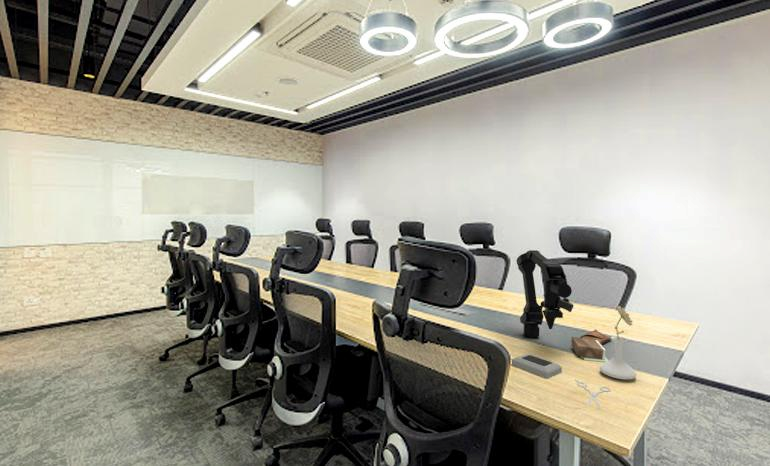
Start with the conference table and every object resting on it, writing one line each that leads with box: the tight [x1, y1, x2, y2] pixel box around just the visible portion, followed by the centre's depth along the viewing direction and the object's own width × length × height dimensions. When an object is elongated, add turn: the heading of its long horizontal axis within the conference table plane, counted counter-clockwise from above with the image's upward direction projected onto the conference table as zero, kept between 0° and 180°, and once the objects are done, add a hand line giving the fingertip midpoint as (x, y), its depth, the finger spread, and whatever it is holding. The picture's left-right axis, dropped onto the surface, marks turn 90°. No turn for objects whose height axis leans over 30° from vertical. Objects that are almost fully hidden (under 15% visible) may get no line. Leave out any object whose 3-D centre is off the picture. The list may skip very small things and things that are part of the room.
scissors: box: [574, 379, 612, 410], centre depth 119 cm, size 11×1×20 cm
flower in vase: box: [598, 305, 637, 380], centre depth 134 cm, size 13×11×25 cm
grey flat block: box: [510, 353, 563, 380], centre depth 139 cm, size 10×4×15 cm
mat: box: [579, 356, 609, 363], centre depth 155 cm, size 10×16×1 cm, turn 164°
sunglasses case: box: [579, 329, 612, 346], centre depth 169 cm, size 18×7×7 cm
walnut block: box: [570, 336, 607, 360], centre depth 155 cm, size 4×12×10 cm
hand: (550, 328), depth 158 cm, fingers closed
